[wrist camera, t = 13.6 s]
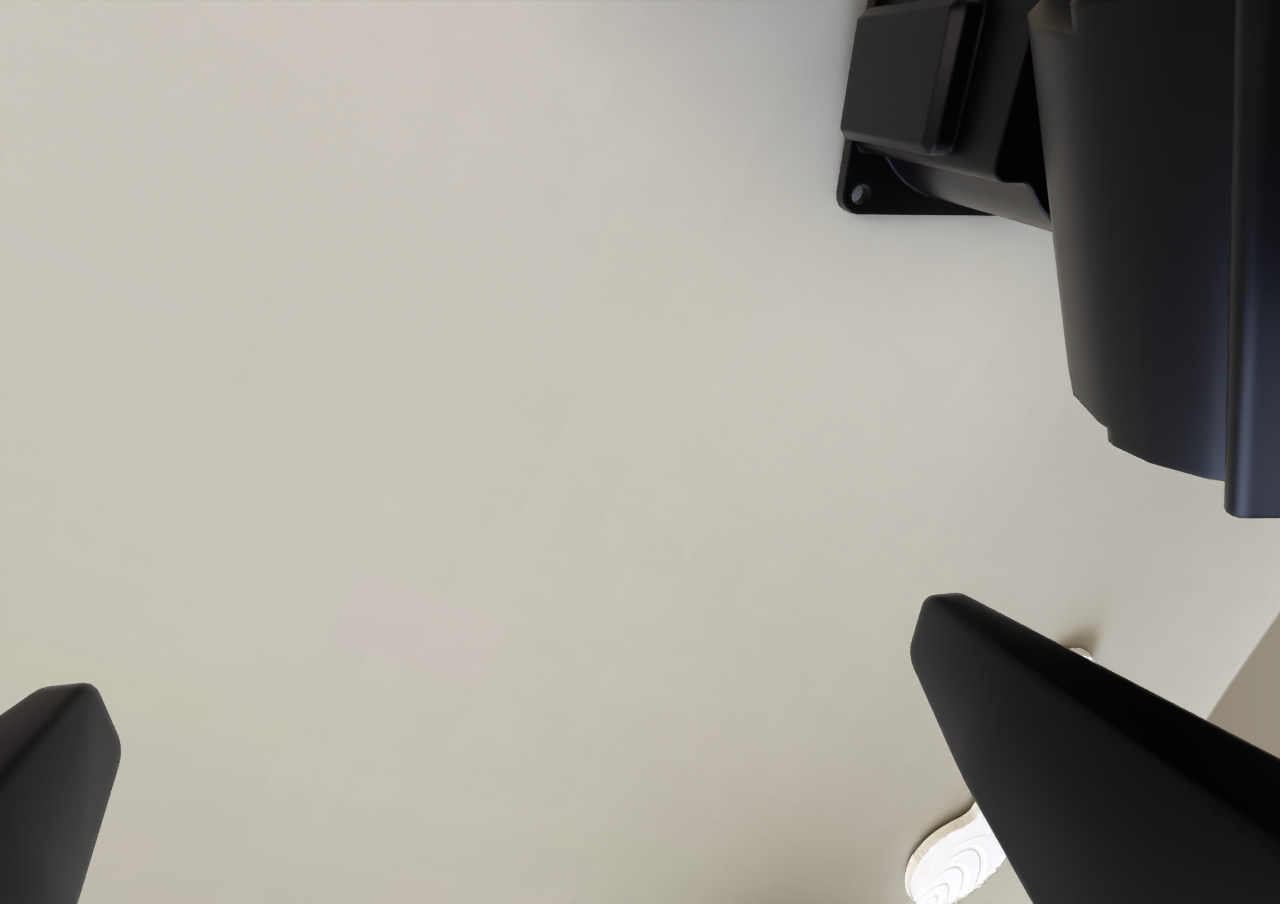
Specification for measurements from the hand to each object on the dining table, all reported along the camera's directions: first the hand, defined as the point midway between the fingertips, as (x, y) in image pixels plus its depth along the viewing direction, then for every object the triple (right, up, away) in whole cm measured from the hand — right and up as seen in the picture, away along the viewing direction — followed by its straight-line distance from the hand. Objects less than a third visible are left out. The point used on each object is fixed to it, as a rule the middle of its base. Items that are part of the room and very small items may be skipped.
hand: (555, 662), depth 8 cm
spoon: (+18, -14, +27) cm, 35 cm away
